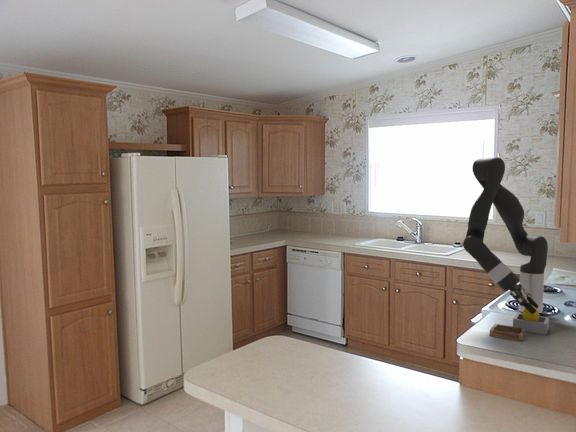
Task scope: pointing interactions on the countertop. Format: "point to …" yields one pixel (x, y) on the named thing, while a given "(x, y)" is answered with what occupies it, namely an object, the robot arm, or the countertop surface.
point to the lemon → (530, 315)
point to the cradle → (505, 334)
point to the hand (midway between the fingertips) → (535, 310)
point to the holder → (532, 324)
